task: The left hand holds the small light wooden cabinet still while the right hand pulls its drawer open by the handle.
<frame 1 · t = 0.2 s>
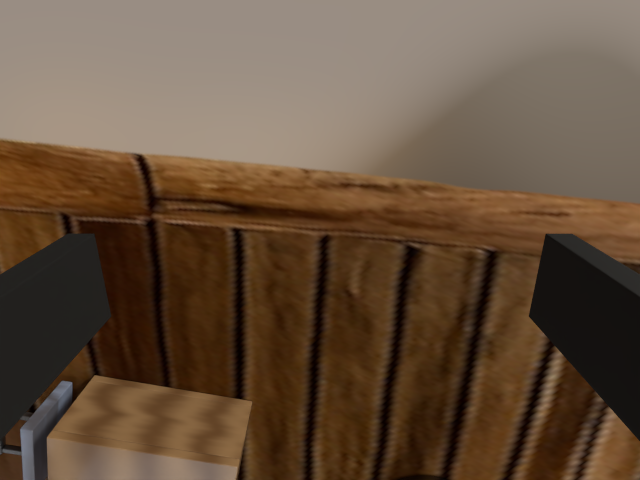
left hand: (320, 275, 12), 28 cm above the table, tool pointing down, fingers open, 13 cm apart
cabinet: (171, 420, 50), on the table
drawer: (96, 442, 45), point 4 cm above the table, slide at 1.9 cm
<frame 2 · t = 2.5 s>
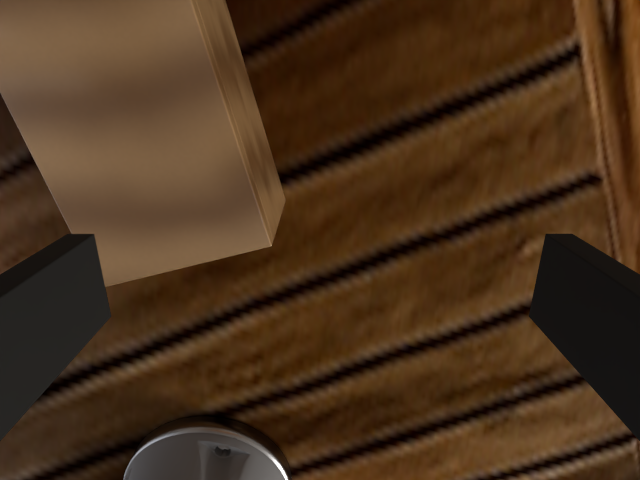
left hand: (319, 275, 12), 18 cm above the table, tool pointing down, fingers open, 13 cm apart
cabinet: (174, 88, 27), on the table
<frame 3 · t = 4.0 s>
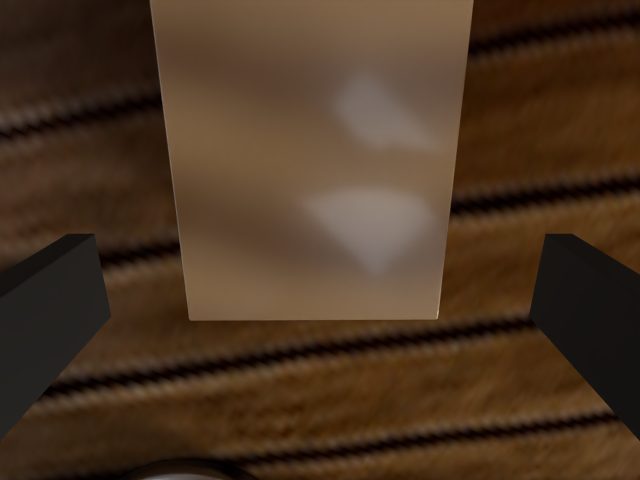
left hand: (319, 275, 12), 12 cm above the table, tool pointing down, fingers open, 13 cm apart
cabinet: (313, 77, 22), on the table
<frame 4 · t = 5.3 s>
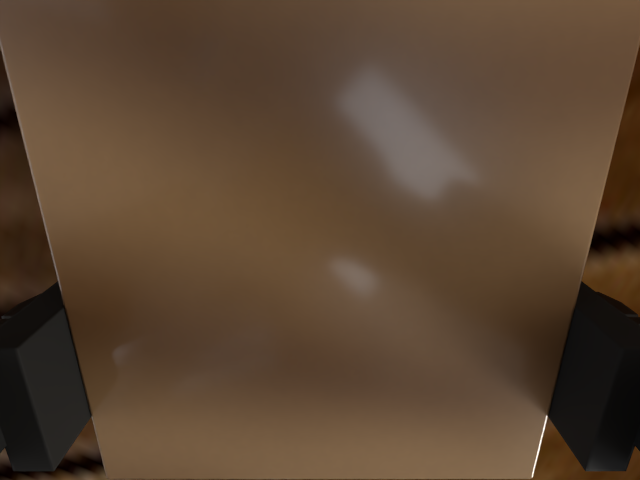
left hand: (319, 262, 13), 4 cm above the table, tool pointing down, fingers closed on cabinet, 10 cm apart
cabinet: (319, 66, 15), on the table, touching left hand
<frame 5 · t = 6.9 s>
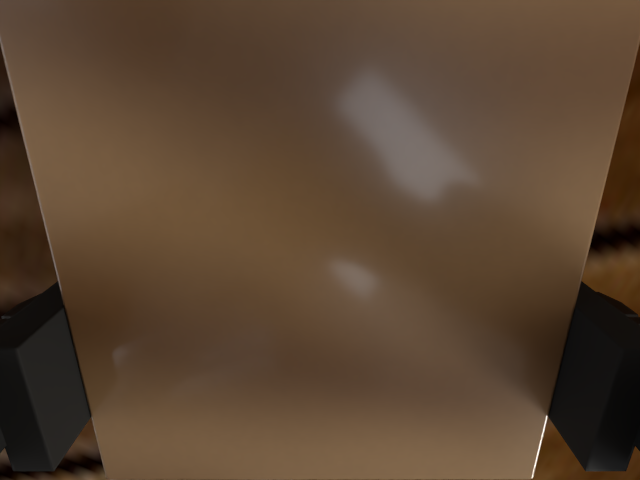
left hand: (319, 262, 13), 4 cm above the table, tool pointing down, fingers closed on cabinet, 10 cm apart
cabinet: (319, 66, 15), on the table, touching left hand
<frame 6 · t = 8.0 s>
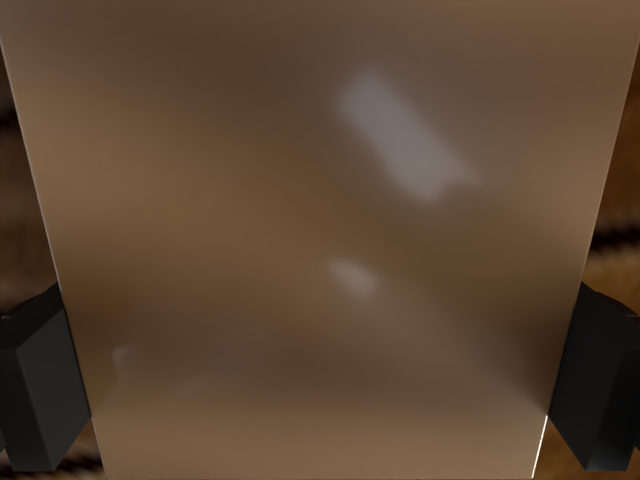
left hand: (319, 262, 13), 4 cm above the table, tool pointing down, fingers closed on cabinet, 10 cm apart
cabinet: (319, 66, 15), on the table, touching left hand
when the left hand's fingers open (4 cm above the table, at t = 9.8 s): cabinet stays where it is, on the table.
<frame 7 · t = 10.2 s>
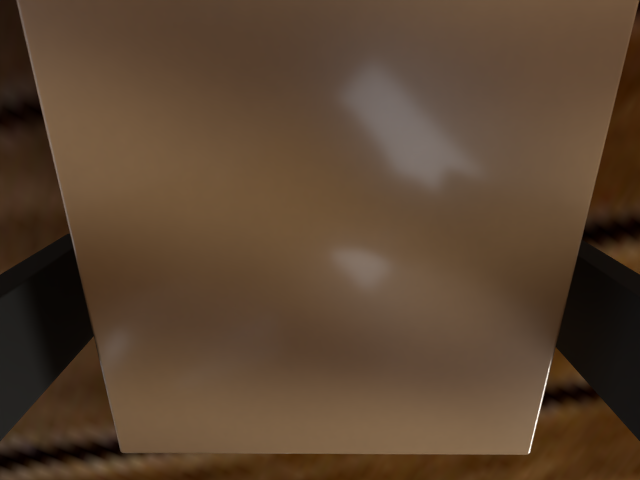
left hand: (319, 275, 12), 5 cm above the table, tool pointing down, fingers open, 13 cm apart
cabinet: (324, 58, 15), on the table
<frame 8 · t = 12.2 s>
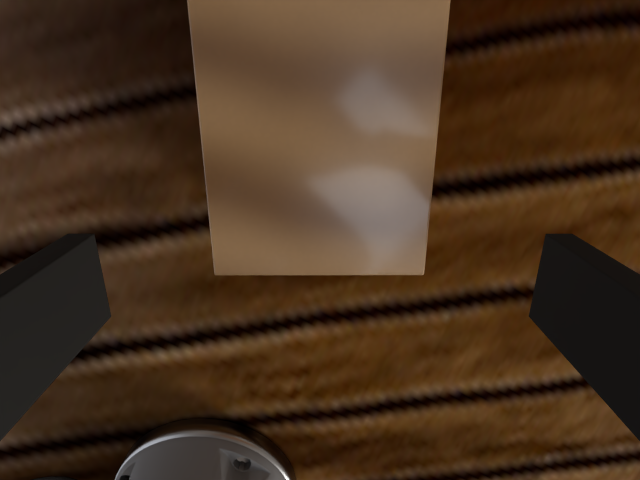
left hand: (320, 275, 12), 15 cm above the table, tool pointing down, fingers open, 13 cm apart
cabinet: (319, 70, 25), on the table
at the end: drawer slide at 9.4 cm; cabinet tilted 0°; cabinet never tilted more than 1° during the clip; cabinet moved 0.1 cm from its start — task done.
